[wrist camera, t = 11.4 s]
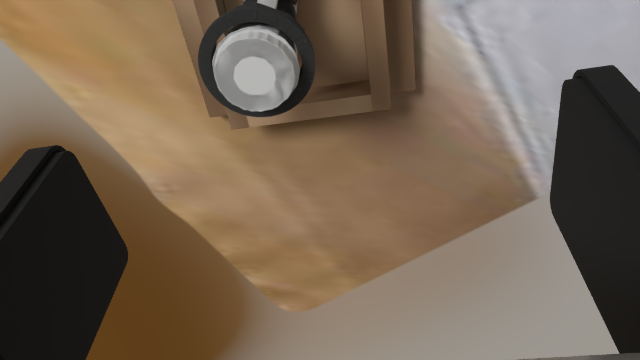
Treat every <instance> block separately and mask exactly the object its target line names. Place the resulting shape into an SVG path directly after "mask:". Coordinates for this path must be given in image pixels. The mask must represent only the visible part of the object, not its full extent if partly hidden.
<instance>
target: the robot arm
mask: <svg viewBox="0 0 640 360" xmlns="http://www.w3.org/2000/svg"><path fill="white" fill-rule="evenodd" d="M550 204H551V210H552V214H553V216H554V218H555V221H556V223H557V225H558V227H559V229H560V231H561V233H562V235H563V237H564V239H565V241H566V243H567V245H568V247H569V249H570V251H571V254H572V256H573V258H574V260H575V262H576V264H577V266H578V268H579V270H580V272H581V274H582V277H583V278H584V281H585V283H586V285H587V287H588V289H589V291H590V293H591V295H592V297H593V299H594V301H595V303H596V305H597V308H598V310H599V312H600V314H601V316H602V318H603V320H604V322H605V324H606V326H607V328H608V330H609V332H610V335H611V337H612V339H613V341H614V343H615V345H616V347H617V349H618V351H619V353H620V354H607V355H590V356H572V357H554V358H537V359H520V360H640V92H639V91H638V90H637V89H636V88H635V87H634V86H633V85H632V84H631V83H630V82H629V81H628V79H627V78H626V77H625V76H624V75H623V74H622V73H621V72H620V71H619V70H618V69H617V68H616V67H615V66H613V65H609V66H602V67H595V68H588V69H581V70H577V71H576V72H575V73H574V76H573V79H569V80H565V81H564V83H563V86H562V92H561V101H560V110H559V119H558V129H557V138H556V147H555V156H554V165H553V174H552V183H551V192H550ZM127 261H128V251H127V247H126V245H125V243H124V241H123V239H122V238H121V236H120V234H119V232H118V230H117V229H116V227H115V225H114V223H113V222H112V220H111V218H110V216H109V215H108V213H107V211H106V209H105V207H104V206H103V204H102V202H101V201H100V199H99V197H98V195H97V193H96V192H95V190H94V188H93V186H92V184H91V183H90V181H89V179H88V177H87V176H86V174H85V172H84V170H83V169H82V167H81V165H80V164H79V161H78V160H77V158H76V156H75V155H74V154H73V153H72V152H70V151H66V150H65V149H64V148H63V147H61V146H58V145H55V146H48V147H41V148H34V149H29V150H27V151H26V152H25V153H24V154H23V156H22V157H21V158H20V159H19V160H18V162H17V163H16V164H15V165H14V166H13V168H12V169H11V170H10V171H9V172H8V174H7V175H6V176H5V177H4V178H3V180H2V181H1V182H0V360H85V359H86V357H87V355H88V353H89V350H90V348H91V345H92V343H93V341H94V339H95V336H96V333H97V332H98V329H99V327H100V325H101V322H102V320H103V318H104V315H105V313H106V311H107V308H108V306H109V304H110V301H111V299H112V297H113V294H114V292H115V290H116V287H117V285H118V283H119V280H120V278H121V276H122V273H123V271H124V269H125V267H126V264H127Z"/></svg>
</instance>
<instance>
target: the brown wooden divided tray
mask: <svg viewBox="0 0 640 360" xmlns="http://www.w3.org/2000/svg"><path fill="white" fill-rule="evenodd" d="M173 3H174V7H175V10H176V13H177V16H178V19H179V22H180V25H181V28H182V32H183V35H184V38H185V41H186V44H187V47H188V50H189V53H190V57H191V60H192V63H193V66H194V69H195V72H196V75H197V78H198V82H199V85H200V88H201V91H202V94H203V97H204V100H205V103H206V107H207V110H208V113H209V116H210V117H217V116H225V115H227V116H228V119H229V123H230V126H231V130H233V129H240V128H248V127H256V126H264V125H271V124H279V123H287V122H295V121H303V120H310V119H318V118H326V117H334V116H341V115H349V114H357V113H365V112H373V111H380V110H388V109H392V108H391V95H390V94H392V93H400V92H408V91H415V90H416V84H415V62H414V40H413V19H412V0H298V2H297V11H296V21H297V22H298V23H299V24H300V25H301V27H302V28H303V29H304V31H305V33H306V35H307V36H308V38H309V40H310V42H311V45H312V47H313V50H314V55H315V75H314V80H313V83H312V86H311V88H310V90H309V92H308V94H307V95H306V96H305V98H304V99H303V100H302V101H301V102H300V103H299V104H298V105H297V106H295V107H294V108H292V109H291V110H289V111H287V112H285V113H282V114H279V115H276V116H271V117H251V116H246V115H242V114H239V113H237V112H234V111H232V110H230V109H228V108H227V107H225V106H224V105H222V104H221V103H220V102H219V101H217V100H216V99H215V98H214V97H213V96H212V94H211V93H210V92H209V91H208V89H207V88H206V86H205V84H204V82H203V80H202V77H201V75H200V71H199V66H198V52H199V47H200V44H201V41H202V38H203V36H204V34H205V32H206V31H207V29H208V28H209V26H210V25H211V24H212V23H213V22H214V21H215V20H216V19H217V18H218V17H220V16H221V15H223V14H224V13H226V12H228V11H230V10H233V9H234V8H235V7H236V6H240V5H243V3H244V0H173ZM292 3H293V5H296V0H293V2H292ZM228 31H229V29H228V30H227V31H225V32H224V33H223V34H222V35H221V36H220V37H219V39H218V40H217V45H216V48H217V46H218V44H219V43H220V42H221V41H222V40H223V39H224V38H225V37H226V36H227V34H228ZM296 49H297V59H298V63H299V66H300V69H301V66H302V59H301V55H300V53H299V50H298V48H297V46H296Z"/></svg>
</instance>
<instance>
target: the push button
mask: <svg viewBox="0 0 640 360" xmlns="http://www.w3.org/2000/svg"><path fill="white" fill-rule="evenodd" d="M292 2H293V0H244V3H243V5H240V6H236V7H235V8H234V9H233V10H230V11H228V12H226V13H224V14H223V15H221V16H220V17H218V18H217V19H216V20H215V21H214V22H213V23H212V24H211V25H210V26H209V28H208V29H207V31H206V32H205V34H204V36H203V38H202V41H201V44H200V47H199V52H198V66H199V71H200V75H201V77H202V80H203V82H204V84H205V86H206V88H207V89H208V91H209V92H210V93H211V94H212V96H213V97H214V98H215V99H216V100H217V101H219V102H220V103H221V104H222V105H224V106H225V107H227V108H228V109H230V110H232V111H234V112H237V113H239V114H242V115H246V116H251V117H271V116H276V115H279V114H282V113H285V112H287V111H289V110H291V109H292V108H294V107H295V106H297V105H298V104H299V103H300V102H301V101H302V100H303V99H304V98H305V96H306V95H307V94H308V92H309V90H310V88H311V86H312V83H313V80H314V75H315V55H314V50H313V47H312V45H311V42H310V40H309V38H308V36H307V35H306V33H305V31H304V29H303V28H302V27H301V25H300V24H299V23H298V22H297V21H296V11H297V2H298V0H296V5H293V3H292ZM228 29H229V31H228V34H227V36H226V37H225V38H224V39H223V40H222V41H221V42H220V43H219V44H218V46H217V48H216V45H217V40H218V39H219V37H220V36H221V35H222V34H223V33H224V32H225V31H227V30H228ZM296 46H297V48H298V50H299V53H300V55H301V59H302V66H301V69H300V66H299V63H298V59H297V49H296Z"/></svg>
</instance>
